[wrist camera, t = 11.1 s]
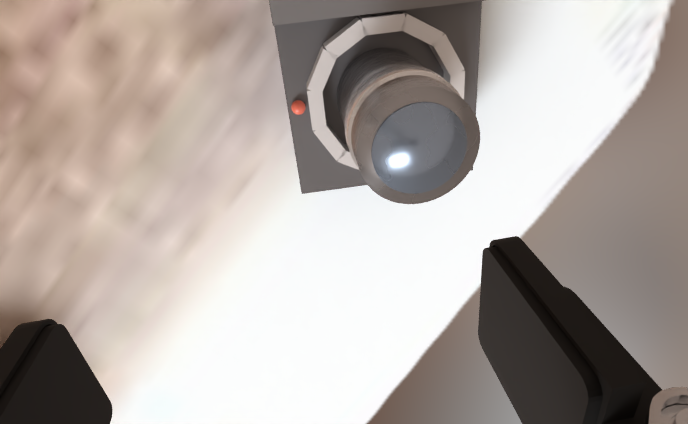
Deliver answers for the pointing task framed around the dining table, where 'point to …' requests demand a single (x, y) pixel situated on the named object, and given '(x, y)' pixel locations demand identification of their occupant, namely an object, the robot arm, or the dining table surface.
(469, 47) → the grey ring-socket block
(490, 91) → the dining table surface
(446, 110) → the lens
